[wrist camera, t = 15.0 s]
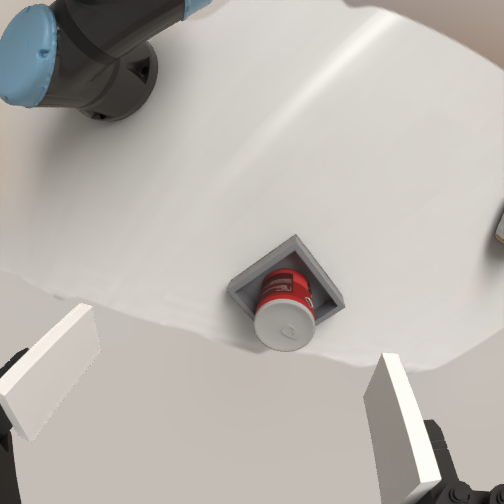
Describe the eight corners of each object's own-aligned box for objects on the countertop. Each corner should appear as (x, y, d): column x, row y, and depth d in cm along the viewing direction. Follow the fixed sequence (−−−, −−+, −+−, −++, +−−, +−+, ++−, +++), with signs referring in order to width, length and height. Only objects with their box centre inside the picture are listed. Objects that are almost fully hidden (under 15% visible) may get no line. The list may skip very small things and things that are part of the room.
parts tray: (231, 279, 50) (226, 291, 47) (295, 233, 47) (296, 242, 43) (279, 333, 53) (278, 347, 49) (341, 294, 49) (345, 307, 45)
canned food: (297, 318, 51) (297, 360, 40) (253, 298, 50) (243, 337, 40) (320, 280, 48) (327, 317, 38) (274, 258, 48) (268, 291, 37)
